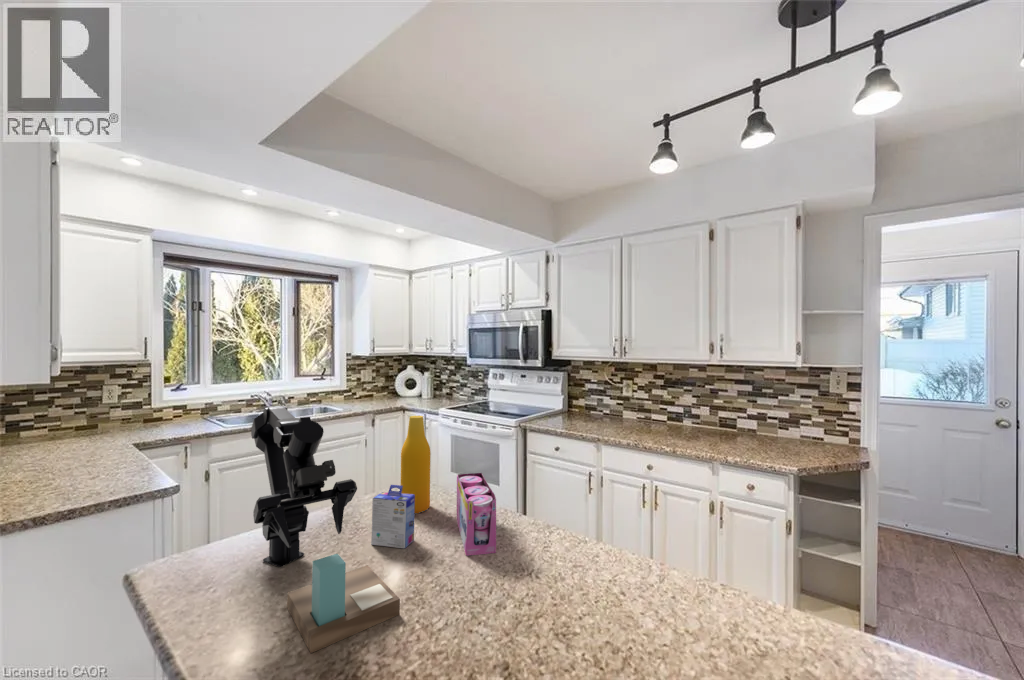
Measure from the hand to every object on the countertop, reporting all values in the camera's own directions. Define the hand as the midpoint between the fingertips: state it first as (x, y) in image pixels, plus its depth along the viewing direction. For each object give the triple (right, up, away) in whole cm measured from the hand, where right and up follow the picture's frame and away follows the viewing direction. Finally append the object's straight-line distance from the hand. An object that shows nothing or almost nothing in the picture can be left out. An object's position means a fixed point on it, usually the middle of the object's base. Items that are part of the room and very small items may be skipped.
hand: (315, 539), depth 83 cm
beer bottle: (+8, -14, +51) cm, 53 cm away
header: (+6, -14, -1) cm, 15 cm away
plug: (+5, -14, -6) cm, 16 cm away
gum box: (+28, -14, +33) cm, 46 cm away
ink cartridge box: (+7, -14, +28) cm, 32 cm away
